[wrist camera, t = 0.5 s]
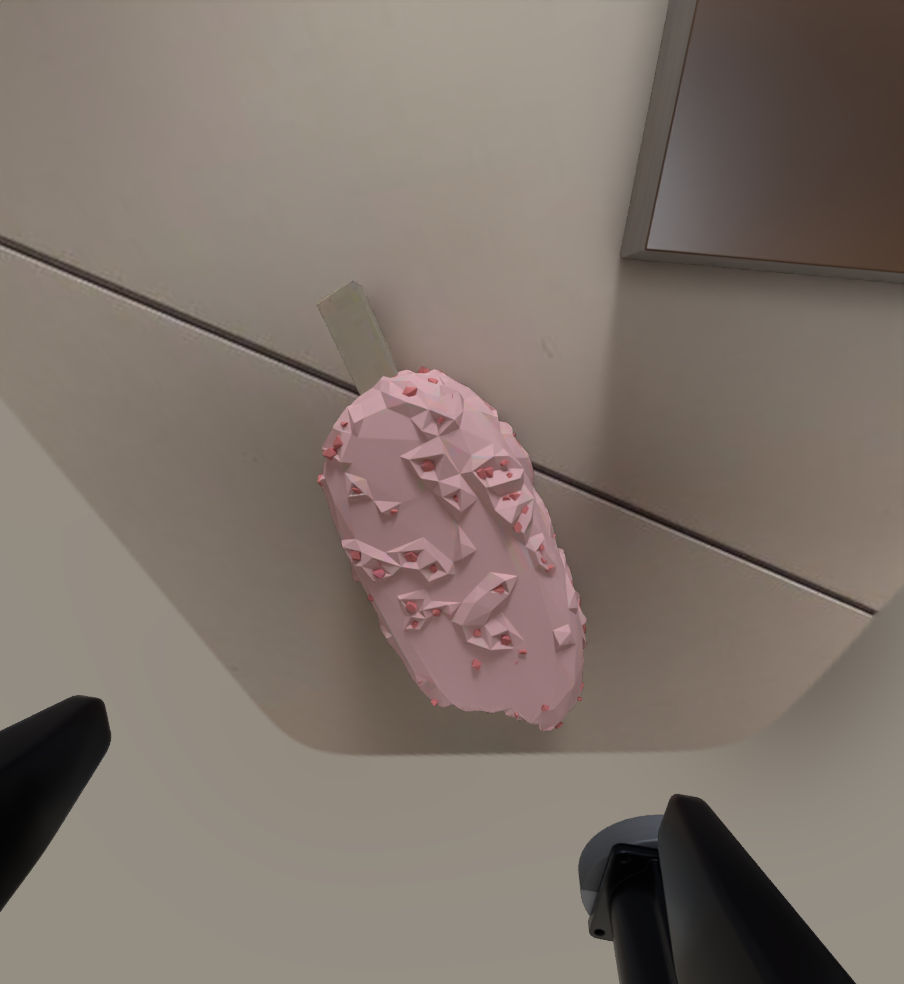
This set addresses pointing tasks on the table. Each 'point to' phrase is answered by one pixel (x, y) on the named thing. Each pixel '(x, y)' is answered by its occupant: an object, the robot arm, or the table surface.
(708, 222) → the shelf
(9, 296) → the table surface
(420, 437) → the ice cream bar
